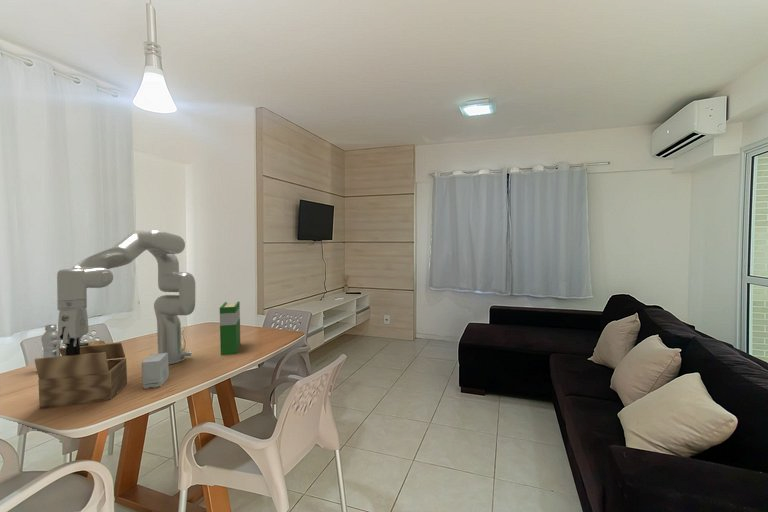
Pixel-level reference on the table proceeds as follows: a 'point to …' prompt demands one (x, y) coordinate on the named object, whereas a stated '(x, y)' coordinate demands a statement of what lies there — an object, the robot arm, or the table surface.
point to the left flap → (71, 365)
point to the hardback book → (230, 328)
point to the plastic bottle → (51, 342)
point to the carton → (83, 386)
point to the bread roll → (96, 342)
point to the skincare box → (155, 370)
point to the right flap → (101, 350)
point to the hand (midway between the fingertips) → (73, 357)
